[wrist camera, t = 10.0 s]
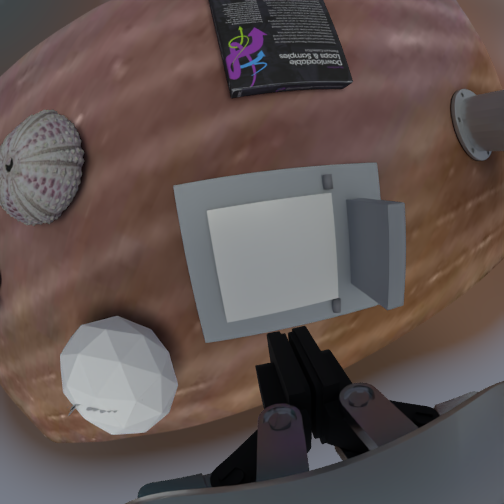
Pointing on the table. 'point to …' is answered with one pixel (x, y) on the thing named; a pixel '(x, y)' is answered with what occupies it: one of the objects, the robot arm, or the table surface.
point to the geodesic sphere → (118, 375)
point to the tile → (275, 254)
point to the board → (346, 233)
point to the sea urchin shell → (40, 168)
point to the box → (278, 46)
